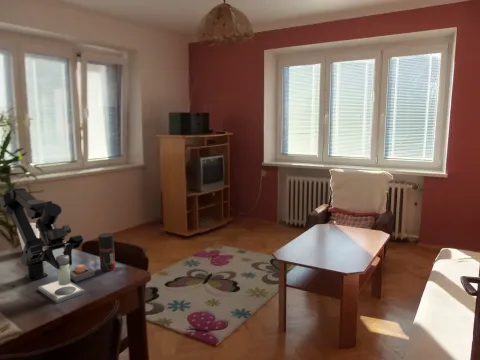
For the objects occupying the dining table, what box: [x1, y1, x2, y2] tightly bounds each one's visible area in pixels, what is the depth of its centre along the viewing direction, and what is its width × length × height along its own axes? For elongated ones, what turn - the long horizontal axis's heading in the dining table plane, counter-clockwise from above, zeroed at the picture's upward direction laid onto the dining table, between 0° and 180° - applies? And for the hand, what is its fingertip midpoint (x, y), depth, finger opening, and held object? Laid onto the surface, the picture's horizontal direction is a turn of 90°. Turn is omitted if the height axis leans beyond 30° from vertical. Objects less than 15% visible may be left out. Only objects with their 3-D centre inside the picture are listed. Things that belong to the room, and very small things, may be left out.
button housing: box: [70, 265, 96, 282], centre depth 153 cm, size 8×8×2 cm
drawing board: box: [37, 279, 86, 304], centre depth 139 cm, size 16×10×1 cm, turn 50°
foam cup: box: [16, 222, 40, 251], centre depth 179 cm, size 10×9×13 cm
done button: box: [74, 264, 86, 275], centre depth 153 cm, size 4×4×2 cm
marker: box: [55, 254, 72, 285], centre depth 136 cm, size 4×4×10 cm
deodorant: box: [97, 232, 116, 273], centre depth 159 cm, size 6×6×15 cm
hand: (65, 266), depth 134 cm, fingers closed on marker, 4 cm apart
